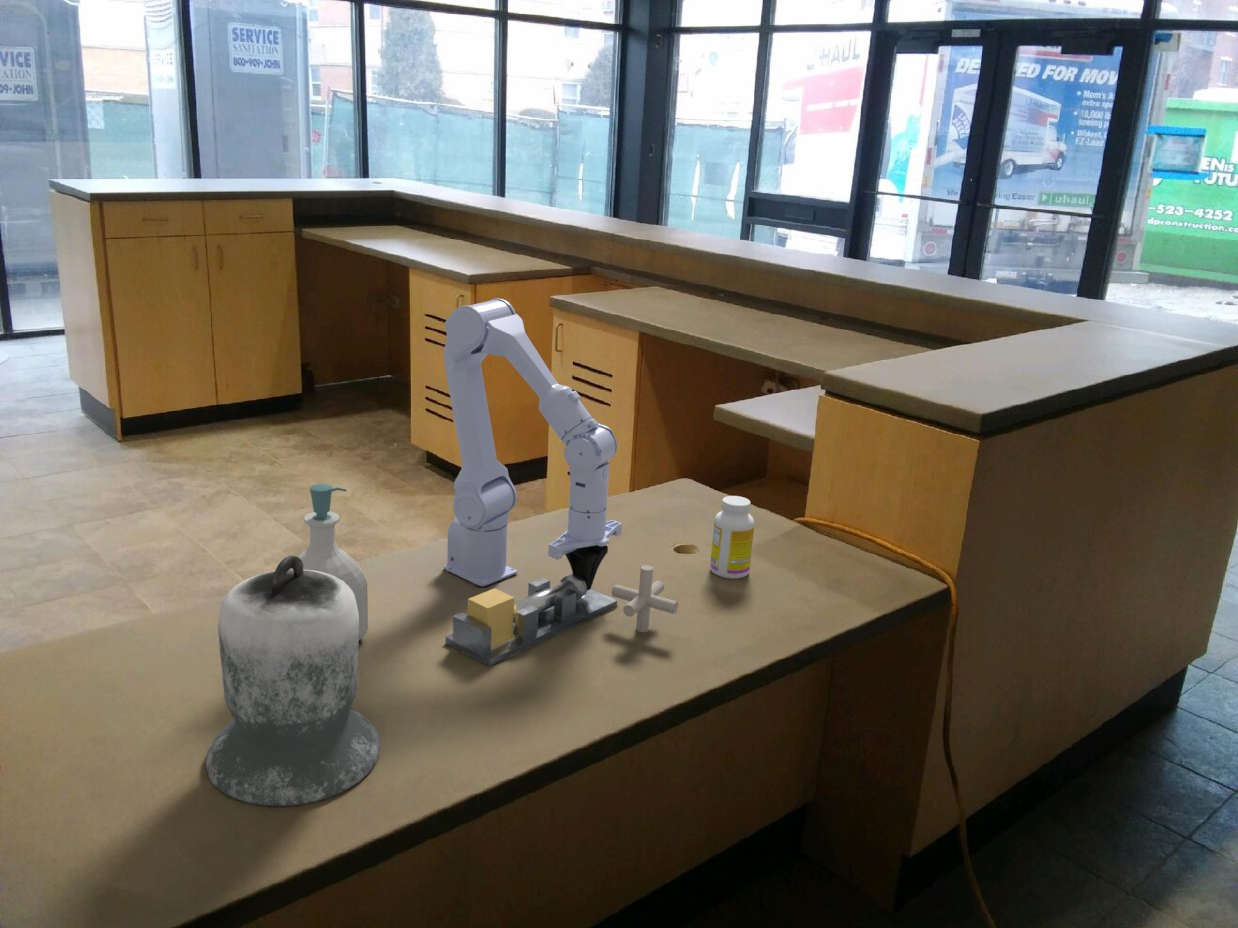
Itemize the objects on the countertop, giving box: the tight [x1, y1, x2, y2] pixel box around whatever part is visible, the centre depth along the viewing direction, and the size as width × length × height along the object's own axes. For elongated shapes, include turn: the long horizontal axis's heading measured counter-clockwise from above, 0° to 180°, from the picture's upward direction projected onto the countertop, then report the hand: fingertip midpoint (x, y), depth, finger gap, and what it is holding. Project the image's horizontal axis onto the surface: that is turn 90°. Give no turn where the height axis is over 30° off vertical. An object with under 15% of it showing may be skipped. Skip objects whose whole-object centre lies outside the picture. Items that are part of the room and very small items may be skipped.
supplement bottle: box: [709, 495, 755, 580], centre depth 179 cm, size 7×7×13 cm
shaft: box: [513, 572, 587, 623], centre depth 159 cm, size 4×14×4 cm, turn 140°
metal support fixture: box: [445, 576, 618, 667], centre depth 158 cm, size 9×27×5 cm, turn 140°
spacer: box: [467, 588, 515, 645], centre depth 151 cm, size 4×5×6 cm
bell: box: [205, 555, 381, 807], centre depth 120 cm, size 19×19×25 cm
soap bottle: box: [289, 483, 369, 641], centre depth 147 cm, size 10×10×23 cm
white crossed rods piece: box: [611, 564, 679, 633], centre depth 158 cm, size 10×10×10 cm
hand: (583, 588), depth 166 cm, fingers closed
